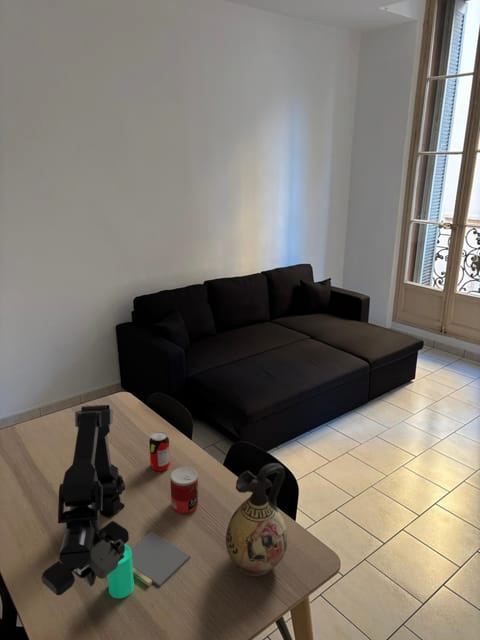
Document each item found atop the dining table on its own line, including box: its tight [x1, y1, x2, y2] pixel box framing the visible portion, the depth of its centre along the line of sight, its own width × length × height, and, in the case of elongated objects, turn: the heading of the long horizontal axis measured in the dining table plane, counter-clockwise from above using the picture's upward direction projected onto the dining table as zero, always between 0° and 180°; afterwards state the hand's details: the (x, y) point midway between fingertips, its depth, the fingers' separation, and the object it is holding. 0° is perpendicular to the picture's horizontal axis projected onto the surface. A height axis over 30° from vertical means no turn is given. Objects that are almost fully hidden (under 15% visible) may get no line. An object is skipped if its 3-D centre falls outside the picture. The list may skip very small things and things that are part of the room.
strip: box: [133, 567, 153, 588], centre depth 119 cm, size 10×1×1 cm, turn 54°
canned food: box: [169, 466, 199, 515], centre depth 140 cm, size 8×8×11 cm
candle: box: [107, 543, 135, 599], centre depth 113 cm, size 6×6×12 cm
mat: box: [130, 531, 191, 588], centre depth 124 cm, size 14×11×1 cm
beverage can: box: [149, 431, 171, 472], centre depth 157 cm, size 6×6×12 cm
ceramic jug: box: [225, 462, 288, 577], centre depth 118 cm, size 17×15×30 cm
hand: (90, 584), depth 106 cm, fingers closed
